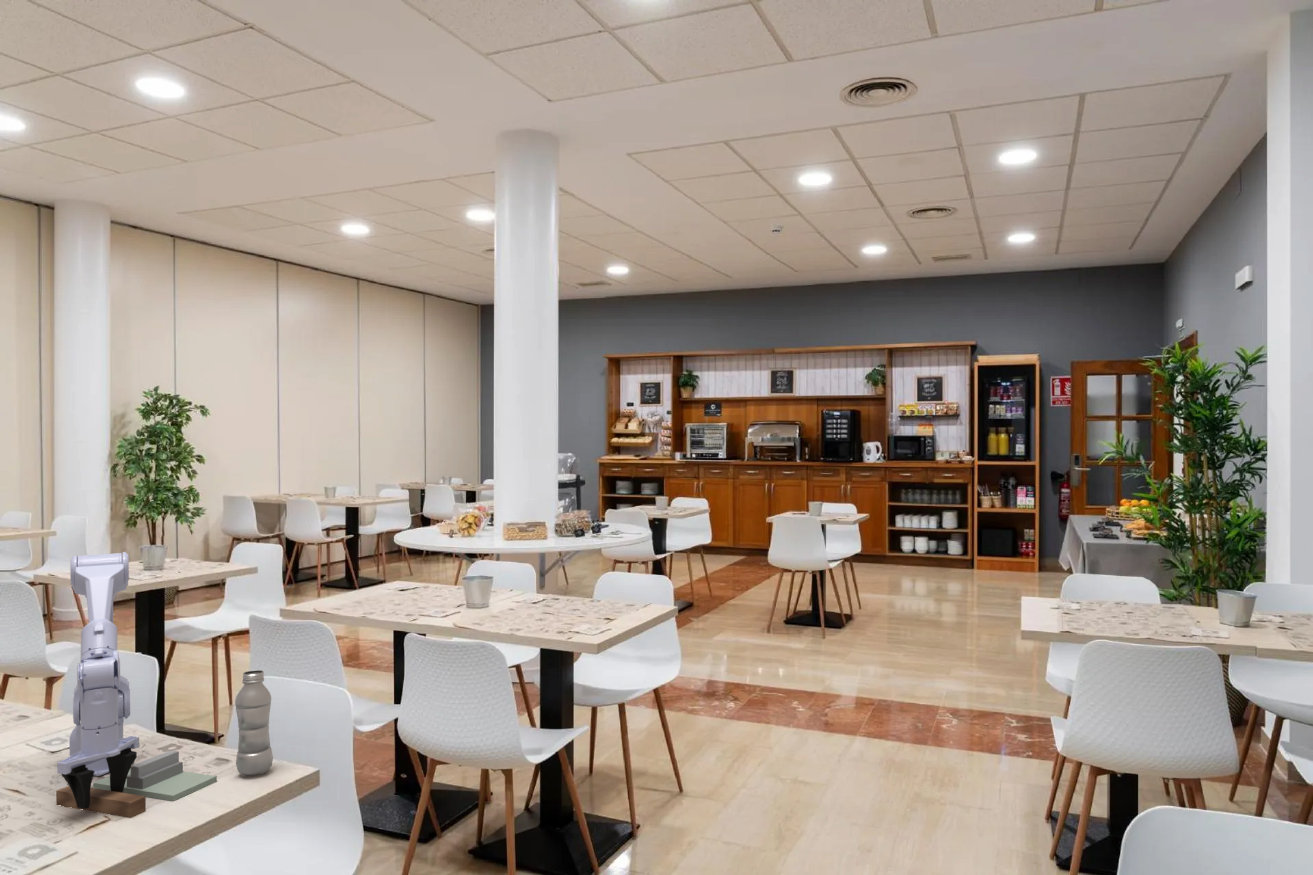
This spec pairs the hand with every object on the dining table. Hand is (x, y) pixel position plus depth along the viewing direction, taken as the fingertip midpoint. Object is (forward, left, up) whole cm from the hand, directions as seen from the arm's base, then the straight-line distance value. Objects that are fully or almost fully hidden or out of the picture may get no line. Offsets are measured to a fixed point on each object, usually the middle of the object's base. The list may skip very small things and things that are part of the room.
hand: (100, 800), depth 162 cm
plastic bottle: (+14, +22, -2) cm, 26 cm away
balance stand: (0, +11, -1) cm, 12 cm away
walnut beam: (0, 0, -2) cm, 2 cm away
